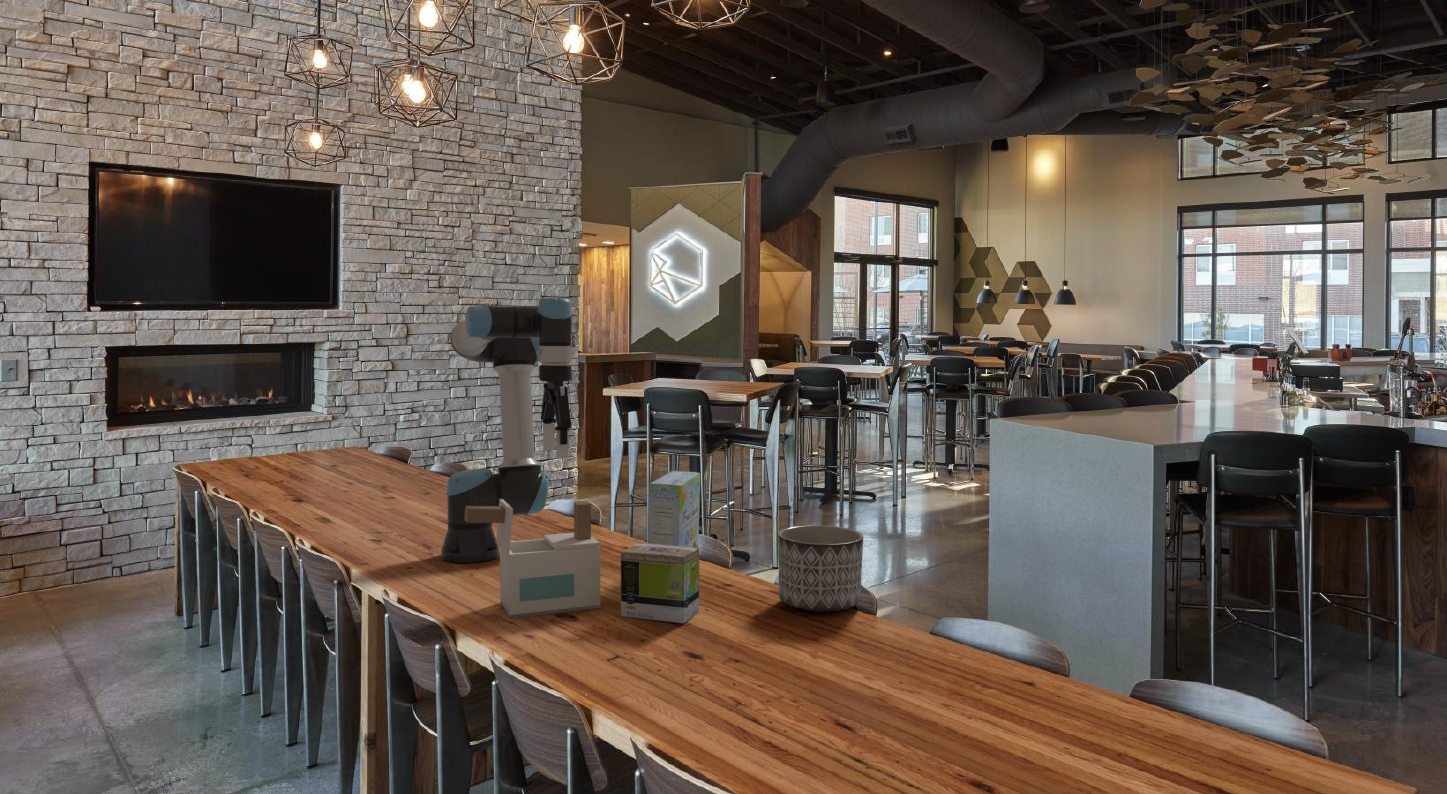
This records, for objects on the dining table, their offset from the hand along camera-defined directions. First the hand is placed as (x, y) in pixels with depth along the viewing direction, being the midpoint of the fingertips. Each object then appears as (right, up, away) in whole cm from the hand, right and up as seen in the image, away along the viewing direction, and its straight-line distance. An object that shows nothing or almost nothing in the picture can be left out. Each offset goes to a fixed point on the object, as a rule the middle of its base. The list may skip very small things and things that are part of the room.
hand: (555, 454), depth 220 cm
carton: (0, -34, -9) cm, 35 cm away
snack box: (+27, -32, +15) cm, 45 cm away
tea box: (+26, -35, -14) cm, 45 cm away
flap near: (-8, -15, -14) cm, 22 cm away
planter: (+61, -34, -6) cm, 71 cm away
